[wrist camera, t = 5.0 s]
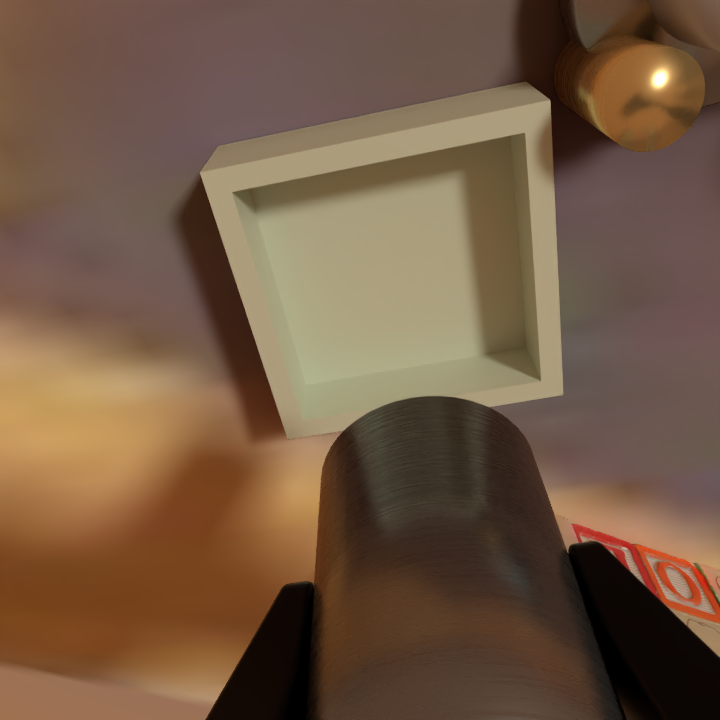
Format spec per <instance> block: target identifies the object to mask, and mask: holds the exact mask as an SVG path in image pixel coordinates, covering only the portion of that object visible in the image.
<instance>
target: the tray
mask: <svg viewBox="0 0 720 720" xmlns="http://www.w3.org/2000/svg"><path fill="white" fill-rule="evenodd" d="M200 175H201V178H202V181H203V184H204V187H205V190H206V193H207V196H208V199H209V202H210V205H211V208H212V211H213V214H214V217H215V220H216V223H217V226H218V229H219V232H220V235H221V238H222V241H223V244H224V247H225V251H226V254H227V257H228V260H229V263H230V266H231V269H232V272H233V275H234V278H235V281H236V284H237V287H238V290H239V293H240V296H241V299H242V302H243V305H244V308H245V311H246V314H247V317H248V320H249V323H250V326H251V329H252V333H253V336H254V339H255V342H256V345H257V348H258V351H259V354H260V357H261V360H262V363H263V366H264V369H265V372H266V375H267V378H268V381H269V384H270V387H271V390H272V393H273V396H274V399H275V402H276V405H277V408H278V411H279V415H280V418H281V421H282V424H283V427H284V430H285V433H286V436H287V439H288V440H289V439H295V438H301V437H307V436H313V435H320V434H326V433H332V432H338V431H344V430H345V429H346V428H347V427H348V426H350V425H351V424H352V423H353V422H355V421H356V420H357V419H359V418H360V417H362V416H364V415H365V414H367V413H368V412H370V411H372V410H374V409H377V408H379V407H381V406H383V405H386V404H389V403H392V402H395V401H399V400H403V399H408V398H414V397H423V396H447V397H456V398H461V399H466V400H470V401H474V402H476V403H479V404H482V405H485V406H487V407H492V406H498V405H504V404H510V403H516V402H522V401H529V400H535V399H541V398H547V397H553V396H559V395H563V376H562V353H561V331H560V308H559V285H558V262H557V239H556V217H555V194H554V171H553V148H552V125H551V103H550V99H548V98H547V97H546V96H544V95H543V94H542V93H540V92H539V91H538V90H537V89H535V88H534V87H533V86H531V85H530V84H529V83H527V82H526V81H525V82H520V83H515V84H511V85H506V86H501V87H496V88H492V89H487V90H482V91H477V92H473V93H468V94H463V95H458V96H454V97H449V98H444V99H439V100H435V101H430V102H425V103H420V104H416V105H411V106H406V107H401V108H396V109H392V110H387V111H382V112H377V113H373V114H368V115H363V116H358V117H354V118H349V119H344V120H339V121H335V122H330V123H325V124H320V125H316V126H311V127H306V128H301V129H297V130H292V131H287V132H282V133H278V134H273V135H268V136H263V137H259V138H254V139H249V140H244V141H240V142H235V143H230V144H225V145H221V146H218V147H217V149H216V150H215V152H214V153H213V155H212V156H211V157H210V159H209V160H208V162H207V163H206V164H205V166H204V167H203V169H202V170H201V172H200Z"/></svg>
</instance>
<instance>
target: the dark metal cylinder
mask: <svg viewBox="0 0 720 720" xmlns="http://www.w3.org/2000/svg"><path fill="white" fill-rule="evenodd" d="M305 720H627V719H626V716H625V713H624V710H623V707H622V705H621V702H620V699H619V696H618V693H617V691H616V688H615V685H614V682H613V679H612V676H611V674H610V671H609V668H608V665H607V662H606V659H605V657H604V654H603V651H602V648H601V645H600V642H599V640H598V637H597V634H596V631H595V628H594V625H593V623H592V620H591V617H590V614H589V611H588V608H587V606H586V603H585V600H584V597H583V594H582V591H581V589H580V586H579V583H578V580H577V577H576V574H575V572H574V569H573V566H572V563H571V560H570V557H569V555H568V552H567V549H566V546H565V543H564V541H563V538H562V535H561V532H560V529H559V526H558V524H557V521H556V518H555V515H554V512H553V509H552V507H551V504H550V501H549V498H548V495H547V492H546V490H545V487H544V484H543V481H542V478H541V475H540V473H539V470H538V467H537V464H536V461H535V458H534V456H533V453H532V450H531V447H530V445H529V443H528V442H527V440H526V438H525V436H524V435H523V434H522V433H521V431H520V430H519V429H518V428H517V427H516V426H515V425H514V424H513V423H512V422H511V421H510V420H509V419H507V418H506V417H505V416H503V415H502V414H500V413H499V412H497V411H495V410H493V409H491V408H489V407H487V406H485V405H482V404H479V403H476V402H474V401H470V400H466V399H461V398H456V397H447V396H423V397H414V398H408V399H403V400H399V401H395V402H392V403H389V404H386V405H383V406H381V407H379V408H377V409H374V410H372V411H370V412H368V413H367V414H365V415H364V416H362V417H360V418H359V419H357V420H356V421H355V422H353V423H352V424H351V425H350V426H348V427H347V428H346V429H345V430H344V431H343V432H342V433H341V434H340V436H339V437H338V438H337V439H336V441H335V442H334V443H333V445H332V446H331V448H330V450H329V452H328V454H327V456H326V458H325V461H324V465H323V468H322V475H321V487H320V502H319V518H318V533H317V548H316V564H315V579H314V595H313V610H312V625H311V641H310V656H309V671H308V687H307V702H306V717H305Z"/></svg>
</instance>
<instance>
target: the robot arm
mask: <svg viewBox="0 0 720 720" xmlns="http://www.w3.org/2000/svg"><path fill="white" fill-rule="evenodd" d="M568 555H569V557H570V560H571V563H572V566H573V569H574V572H575V574H576V577H577V580H578V583H579V586H580V589H581V591H582V594H583V597H584V600H585V603H586V606H587V608H588V611H589V614H590V617H591V620H592V623H593V625H594V628H595V631H596V634H597V637H598V640H599V642H600V645H601V648H602V651H603V654H604V657H605V659H606V662H607V665H608V668H609V671H610V674H611V676H612V679H613V682H614V685H615V688H616V691H617V693H618V696H619V699H620V702H621V705H622V707H623V710H624V713H625V716H626V719H627V720H720V657H719V656H718V655H717V654H716V653H715V652H714V651H713V650H712V649H711V648H710V647H709V646H708V645H706V644H705V643H704V642H703V641H702V640H701V639H700V638H699V637H698V636H697V635H696V634H695V633H694V632H693V631H692V630H691V629H690V628H689V627H688V626H687V625H686V624H685V623H684V622H683V621H682V620H680V619H679V618H678V617H677V616H676V615H675V614H674V613H673V612H672V611H671V610H670V609H669V608H668V607H667V606H666V605H665V604H664V603H663V602H662V601H661V600H660V599H659V598H658V597H657V596H656V595H655V594H653V593H652V592H651V591H650V590H649V589H648V588H647V587H646V586H645V585H644V584H643V583H642V582H641V581H640V580H639V579H638V578H637V577H636V576H635V575H634V574H633V573H632V572H631V571H630V570H629V569H628V568H626V567H625V566H624V565H623V564H622V563H621V562H620V561H619V560H618V559H617V558H616V557H615V556H614V555H613V554H612V553H611V552H610V551H609V550H608V549H607V548H606V547H605V546H604V545H602V544H601V543H600V542H597V541H589V542H582V543H575V544H571V545H570V546H569V549H568ZM313 595H314V585H313V584H312V583H311V582H310V581H304V582H297V583H290V584H286V585H285V586H283V587H282V589H281V590H280V592H279V594H278V595H277V597H276V599H275V600H274V602H273V604H272V606H271V607H270V609H269V611H268V613H267V614H266V616H265V618H264V619H263V621H262V623H261V625H260V626H259V628H258V630H257V632H256V633H255V635H254V637H253V638H252V640H251V642H250V644H249V645H248V647H247V649H246V651H245V652H244V654H243V656H242V657H241V659H240V661H239V663H238V664H237V666H236V668H235V669H234V671H233V673H232V675H231V676H230V678H229V680H228V682H227V683H226V685H225V687H224V688H223V690H222V692H221V694H220V695H219V697H218V699H217V701H216V702H215V704H214V706H213V707H212V709H211V711H210V713H209V714H208V716H207V718H206V720H305V717H306V702H307V687H308V671H309V656H310V641H311V625H312V610H313Z"/></svg>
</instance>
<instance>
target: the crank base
mask: <svg viewBox="0 0 720 720" xmlns="http://www.w3.org/2000/svg"><path fill="white" fill-rule="evenodd" d="M559 2H560V10H561V15H562V19H563V23H564V27H565V29H566V32H567V35H568V37H569V40H570V41H569V42H568V43H567V44H566V46H565V47H564V48H563V50H562V51H561V53H560V55H559V57H558V59H557V61H556V64H555V68H554V79H553V80H554V87H555V91H556V93H557V95H558V97H559V99H560V100H561V101H562V103H563V104H565V105H566V106H567V107H568V108H570V109H571V110H572V111H574V112H575V113H577V114H578V115H579V116H581V117H582V118H583V119H585V120H586V121H587V122H589V123H590V124H592V125H593V126H594V127H596V128H597V129H598V130H600V131H601V132H603V133H604V134H605V135H607V136H608V137H609V138H611V139H612V140H614V141H615V142H616V143H618V144H619V145H621V146H622V147H624V148H626V149H628V150H632V151H637V152H649V151H654V150H658V149H661V148H663V147H666V146H668V145H670V144H671V143H673V142H674V141H676V140H677V139H679V138H680V137H681V136H682V135H683V134H684V133H685V132H686V131H687V130H688V129H689V128H690V127H691V125H692V124H693V123H694V121H695V120H696V118H697V116H698V114H699V112H700V110H701V107H702V106H707V105H711V104H714V103H718V102H720V52H717V51H713V50H710V49H706V48H702V47H699V46H695V45H691V44H688V43H685V42H682V41H679V40H677V39H676V38H674V37H672V36H671V35H670V34H668V33H667V32H666V31H665V30H664V29H663V28H662V27H661V26H660V25H659V23H658V22H657V20H656V19H655V17H654V15H653V12H652V10H651V7H650V4H649V1H648V0H559Z"/></svg>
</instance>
